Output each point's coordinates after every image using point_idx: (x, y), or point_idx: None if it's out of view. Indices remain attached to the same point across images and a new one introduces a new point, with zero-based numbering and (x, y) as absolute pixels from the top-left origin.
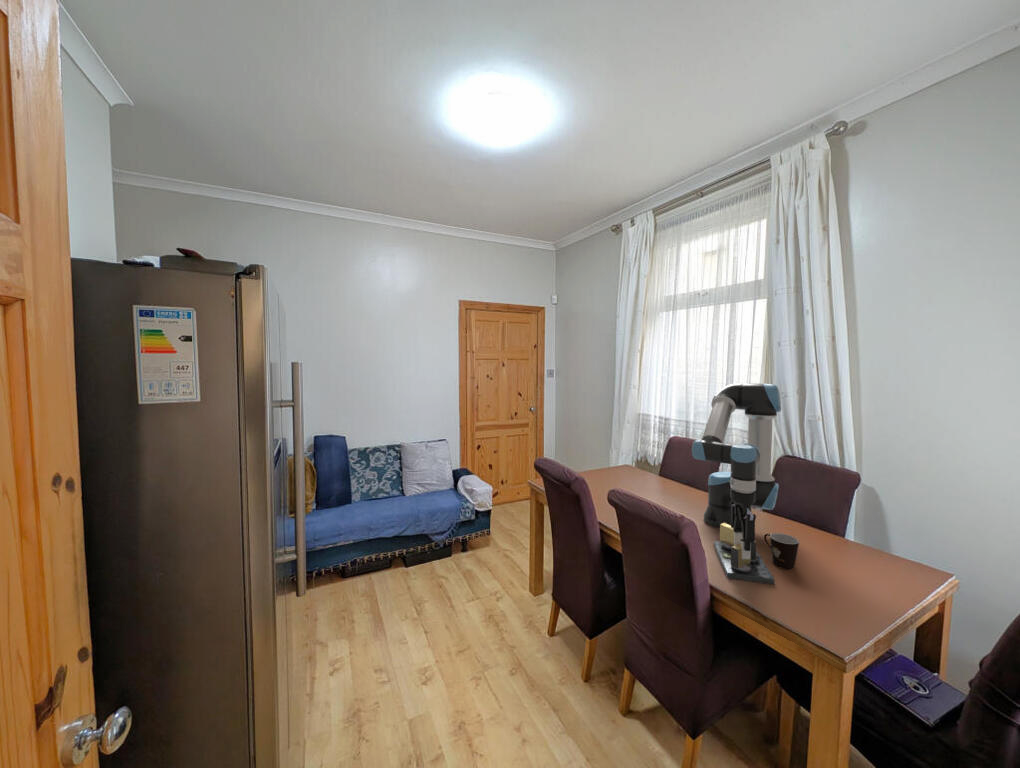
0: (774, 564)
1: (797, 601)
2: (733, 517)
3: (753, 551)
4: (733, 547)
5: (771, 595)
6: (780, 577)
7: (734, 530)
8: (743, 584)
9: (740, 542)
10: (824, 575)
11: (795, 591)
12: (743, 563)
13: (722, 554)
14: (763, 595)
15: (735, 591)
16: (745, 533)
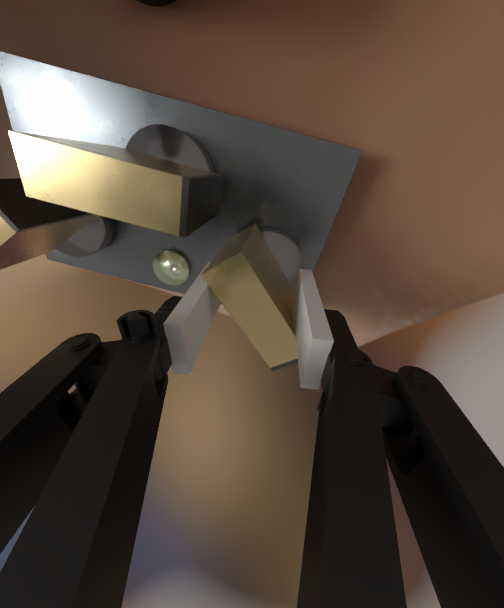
0: (159, 5)
1: (501, 116)
2: (31, 500)
3: (209, 193)
4: (276, 363)
5: (419, 217)
6: (294, 64)
7: (163, 381)
8: (332, 280)
9: (207, 299)
10: None
11: (429, 60)
12: (282, 274)
13: (160, 278)
14: (410, 249)
15: (366, 322)
16: (401, 493)
